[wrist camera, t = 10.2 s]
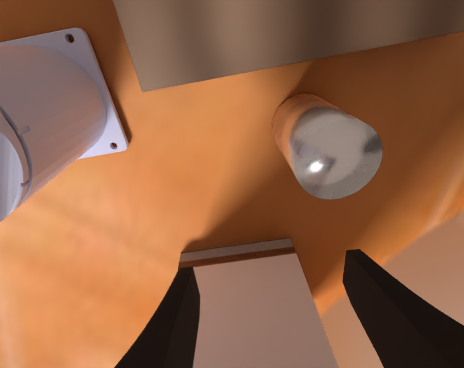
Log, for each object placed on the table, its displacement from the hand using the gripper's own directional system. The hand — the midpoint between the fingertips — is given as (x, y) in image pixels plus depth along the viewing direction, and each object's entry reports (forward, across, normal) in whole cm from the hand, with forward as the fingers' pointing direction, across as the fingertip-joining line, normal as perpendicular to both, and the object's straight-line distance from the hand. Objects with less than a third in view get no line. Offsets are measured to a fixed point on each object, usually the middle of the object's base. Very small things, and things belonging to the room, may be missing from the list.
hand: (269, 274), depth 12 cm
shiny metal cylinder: (+10, -4, -4) cm, 12 cm away
